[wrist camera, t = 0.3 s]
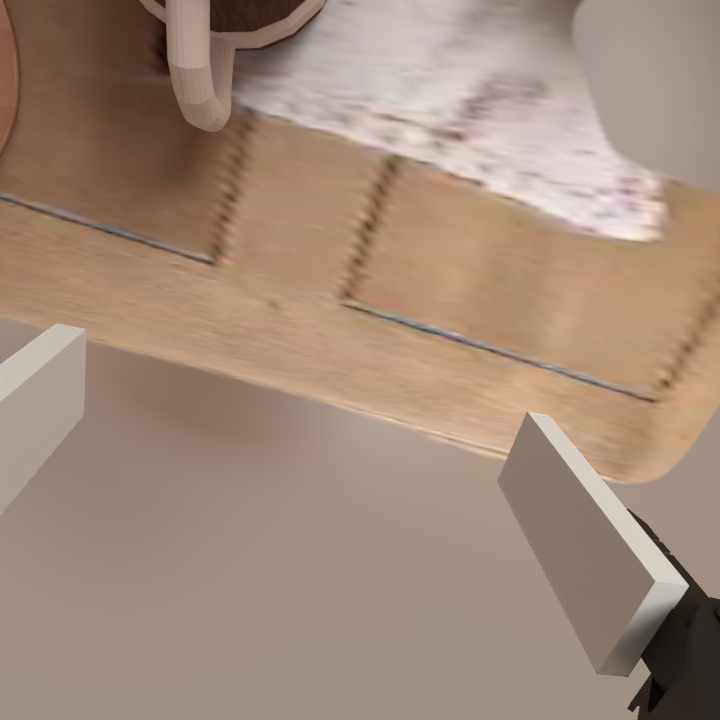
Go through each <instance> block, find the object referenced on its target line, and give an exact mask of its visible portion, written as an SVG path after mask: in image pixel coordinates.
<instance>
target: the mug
mask: <svg viewBox="0 0 720 720" xmlns="http://www.w3.org/2000/svg"><path fill="white" fill-rule="evenodd" d="M139 1H140V2H141V3H142V4H143V6H144V7H145V8H146V9H147V10H148V11H149V12H151V13H152V14H153V15H155V16H156V17H157V18H159V19H160V20H162V21H163V22H164V23H166V32H167V59H168V64H169V69H170V75H171V80H172V85H173V90H174V93H175V96H176V98H177V101H178V104H179V106H180V109H181V112H182V114H183V116H184V118H185V119H186V121H187V122H188V123H190V124H191V125H193V126H195V127H197V128H200V129H202V130H205V131H209V132H216V131H219V130H221V129H222V128H223V127H224V125H225V124H226V122H227V121H228V119H229V117H230V115H231V95H232V75H233V64H234V56H235V51H241V50H263V49H265V48H268V47H270V46H273V45H275V44H278V43H280V42H282V41H285V40H287V39H290V38H292V37H294V36H295V35H296V34H297V33H298V32H299V31H300V30H301V29H303V28H304V27H305V26H306V25H307V24H308V23H309V22H310V21H311V20H312V19H313V18H314V17H315V16H317V15H318V14H319V13H320V11H321V9H322V8H323V6H324V4H325V2H326V0H139Z"/></svg>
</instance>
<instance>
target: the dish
mask: <svg viewBox="0 0 720 720" xmlns="http://www.w3.org/2000/svg"><path fill="white" fill-rule="evenodd" d="M19 99H20V63H19V53H18V46H17V41H16V37H15V32H14V28H13V23H12V20H11V17H10V14H9V11H8V8H7V5H6V2H5V0H0V156H1V154H2V153H3V150H4V148H5V146H6V144H7V142H8V140H9V138H10V136H11V133H12V130H13V127H14V124H15V120H16V117H17V112H18V105H19Z"/></svg>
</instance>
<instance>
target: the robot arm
mask: <svg viewBox="0 0 720 720" xmlns="http://www.w3.org/2000/svg"><path fill="white" fill-rule="evenodd" d="M86 330H87V329H84V328H79V327H74V326H68V325H63V324H58V323H56V324H55V325H53V326H52V327H51V328H49V329H48V330H47V331H45V332H44V333H42V334H41V335H40V336H39V337H37V338H36V339H34V340H33V341H31V342H30V343H29V344H27V345H26V346H25V347H23V348H22V349H20V350H19V351H18V352H16V353H15V354H14V355H12V356H11V357H10V358H8V359H7V360H5V361H4V362H3V363H1V364H0V515H1V514H2V513H3V512H4V510H5V509H6V508H7V507H8V506H9V504H10V503H11V502H12V501H13V500H14V498H15V497H16V496H17V495H18V494H19V492H20V491H21V490H22V489H23V488H24V486H25V485H26V484H27V483H28V482H29V480H30V479H31V478H32V477H33V476H34V474H35V473H36V472H37V471H38V469H39V468H40V467H41V466H42V465H43V463H44V462H45V461H46V460H47V459H48V457H49V456H50V455H51V454H52V453H53V451H54V450H55V449H56V448H57V447H58V445H59V444H60V443H61V442H62V441H63V439H64V438H65V437H66V436H67V435H68V433H69V432H70V431H71V430H72V429H73V427H74V426H75V425H76V423H78V421H79V420H80V419H81V418H82V416H83V414H84V388H85V387H84V386H85V358H86ZM498 484H499V486H500V488H501V489H502V491H503V493H504V495H505V497H506V499H507V501H508V503H509V505H510V507H511V509H512V511H513V513H514V515H515V517H516V519H517V520H518V522H519V524H520V526H521V528H522V530H523V532H524V534H525V536H526V538H527V540H528V542H529V544H530V546H531V548H532V549H533V551H534V553H535V555H536V557H537V559H538V561H539V563H540V565H541V567H542V569H543V571H544V572H545V575H546V576H547V579H548V580H549V582H550V584H551V586H552V588H553V590H554V592H555V594H556V596H557V598H558V600H559V601H560V603H561V605H562V608H563V609H564V611H565V613H566V615H567V617H568V619H569V621H570V623H571V625H572V627H573V629H574V631H575V633H576V634H577V637H578V638H579V640H580V642H581V644H582V646H583V648H584V650H585V652H586V654H587V656H588V658H589V660H590V662H591V664H592V666H593V668H594V669H595V671H596V673H597V674H602V675H613V676H624V677H628V676H629V674H630V673H631V672H632V670H633V669H634V667H635V666H636V664H637V663H638V661H639V660H640V658H642V659H643V661H644V663H645V664H646V666H647V667H648V669H649V671H650V672H651V674H650V676H649V677H648V679H647V680H646V682H645V683H644V684H643V686H642V687H641V689H640V690H639V692H638V693H637V694H636V696H635V697H634V699H633V700H632V702H631V703H630V705H629V707H628V709H629V710H630V711H631V712H633V711H634V710H635V708H636V707H637V706H640V708H639V714H638V720H720V599H716V598H711V597H710V598H709V597H708V596H707V595H706V594H705V592H704V591H703V590H702V589H701V588H700V587H699V585H698V584H697V583H696V582H695V581H694V579H693V578H692V577H691V576H690V575H689V574H688V572H687V571H686V570H685V569H684V568H683V566H682V565H681V564H680V563H679V562H678V561H677V560H676V558H675V557H674V556H673V555H670V551H669V550H668V549H667V547H665V545H664V544H663V543H662V542H659V538H658V537H657V536H656V535H655V533H654V532H653V531H652V530H651V528H650V527H649V526H648V525H647V524H646V523H645V522H644V521H642V520H641V519H640V518H639V517H638V516H636V515H635V514H634V513H633V512H631V511H630V510H629V509H626V508H625V507H624V506H623V505H622V503H621V502H620V501H619V500H618V498H617V497H616V496H615V495H614V494H613V492H612V491H611V490H610V489H609V488H608V486H607V485H606V484H605V483H604V481H603V480H602V479H601V478H600V477H599V475H598V474H597V473H596V472H595V470H594V469H593V468H592V467H591V466H590V464H589V463H588V462H587V461H586V459H585V458H584V457H583V456H582V455H581V453H580V452H579V451H578V450H577V449H576V447H575V446H574V445H573V444H572V442H571V441H570V440H569V439H568V438H567V436H566V435H565V434H564V433H563V431H562V430H561V429H560V428H559V427H558V425H557V424H556V423H555V422H554V421H553V419H552V418H551V417H550V416H549V415H544V414H539V413H534V412H528V411H527V413H526V416H525V418H524V420H523V423H522V425H521V427H520V430H519V432H518V434H517V437H516V439H515V441H514V444H513V446H512V448H511V451H510V453H509V455H508V458H507V460H506V463H505V465H504V467H503V469H502V472H501V474H500V477H499V479H498Z"/></svg>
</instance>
